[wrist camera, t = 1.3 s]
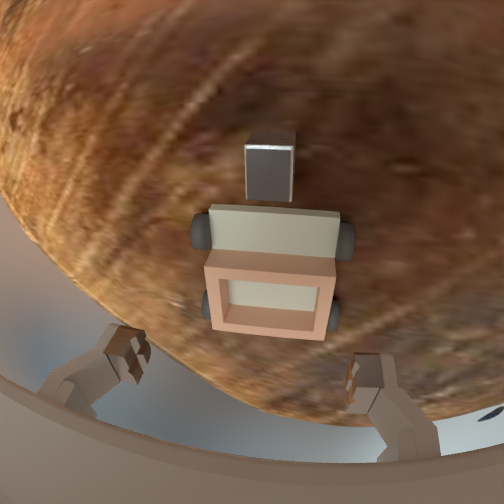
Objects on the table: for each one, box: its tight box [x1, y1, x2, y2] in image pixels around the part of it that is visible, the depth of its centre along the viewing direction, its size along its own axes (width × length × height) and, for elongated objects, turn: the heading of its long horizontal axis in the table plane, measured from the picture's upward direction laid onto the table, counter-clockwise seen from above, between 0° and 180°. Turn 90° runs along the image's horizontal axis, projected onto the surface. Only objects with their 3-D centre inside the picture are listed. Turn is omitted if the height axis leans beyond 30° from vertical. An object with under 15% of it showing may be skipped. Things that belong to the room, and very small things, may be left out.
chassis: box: [190, 204, 355, 341], centre depth 37 cm, size 16×17×5 cm
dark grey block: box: [244, 130, 296, 202], centre depth 29 cm, size 5×4×6 cm
